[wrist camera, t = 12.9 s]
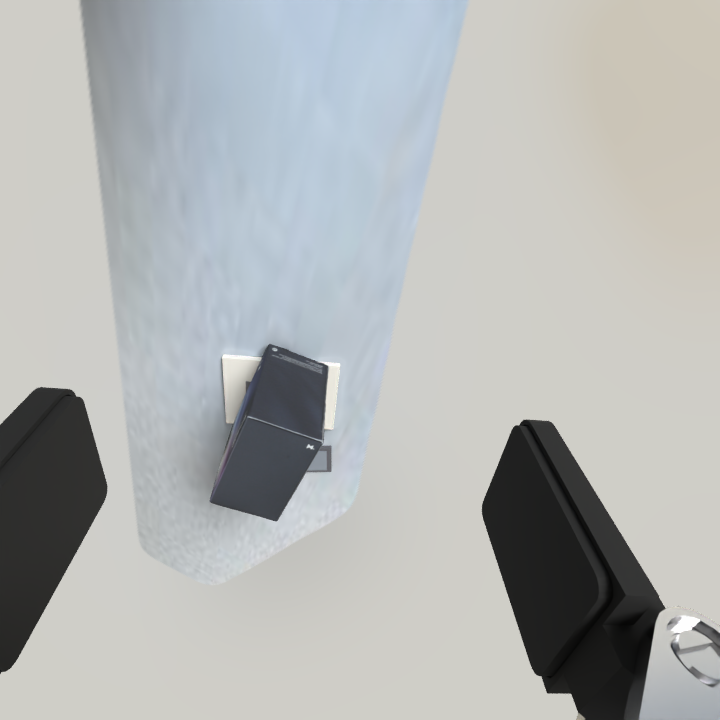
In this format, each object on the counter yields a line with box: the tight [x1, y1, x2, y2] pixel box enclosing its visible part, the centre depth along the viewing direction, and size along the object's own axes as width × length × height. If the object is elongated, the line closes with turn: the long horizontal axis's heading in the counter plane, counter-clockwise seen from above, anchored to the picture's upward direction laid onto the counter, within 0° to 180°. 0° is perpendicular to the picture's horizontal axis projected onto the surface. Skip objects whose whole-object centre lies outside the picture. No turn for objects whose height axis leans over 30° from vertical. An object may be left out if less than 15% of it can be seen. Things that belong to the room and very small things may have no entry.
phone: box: [307, 446, 331, 472], centre depth 49 cm, size 4×7×1 cm, turn 89°
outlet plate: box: [222, 354, 340, 430], centre depth 44 cm, size 8×11×1 cm
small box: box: [210, 344, 329, 521], centre depth 39 cm, size 11×6×10 cm, turn 155°
